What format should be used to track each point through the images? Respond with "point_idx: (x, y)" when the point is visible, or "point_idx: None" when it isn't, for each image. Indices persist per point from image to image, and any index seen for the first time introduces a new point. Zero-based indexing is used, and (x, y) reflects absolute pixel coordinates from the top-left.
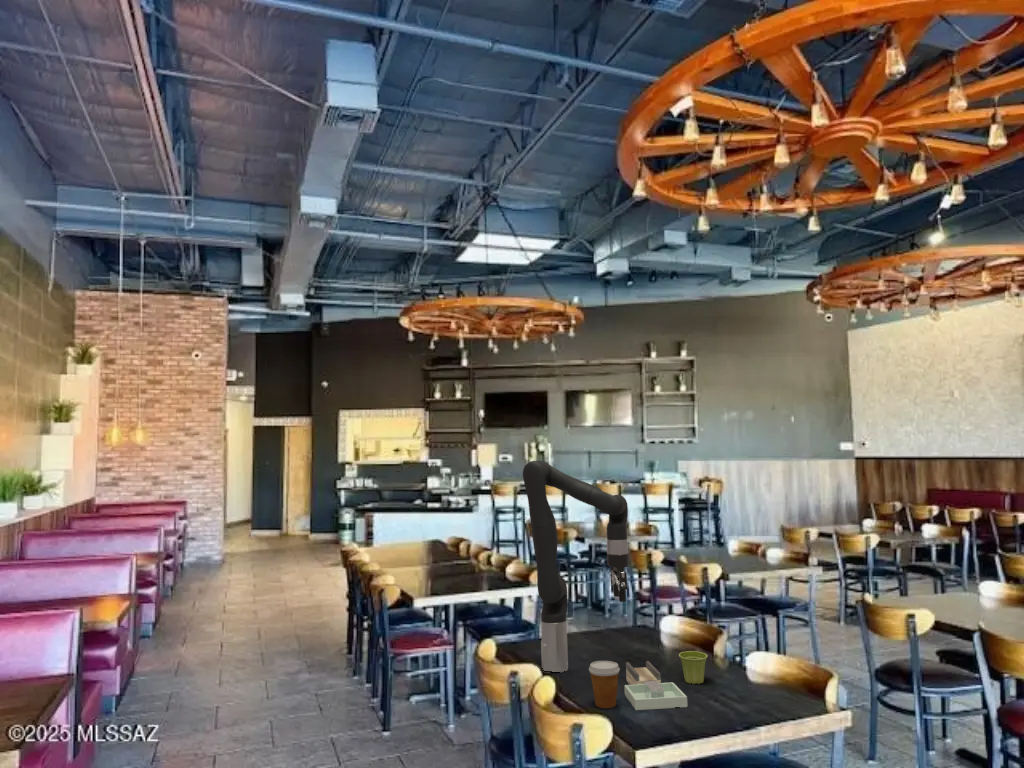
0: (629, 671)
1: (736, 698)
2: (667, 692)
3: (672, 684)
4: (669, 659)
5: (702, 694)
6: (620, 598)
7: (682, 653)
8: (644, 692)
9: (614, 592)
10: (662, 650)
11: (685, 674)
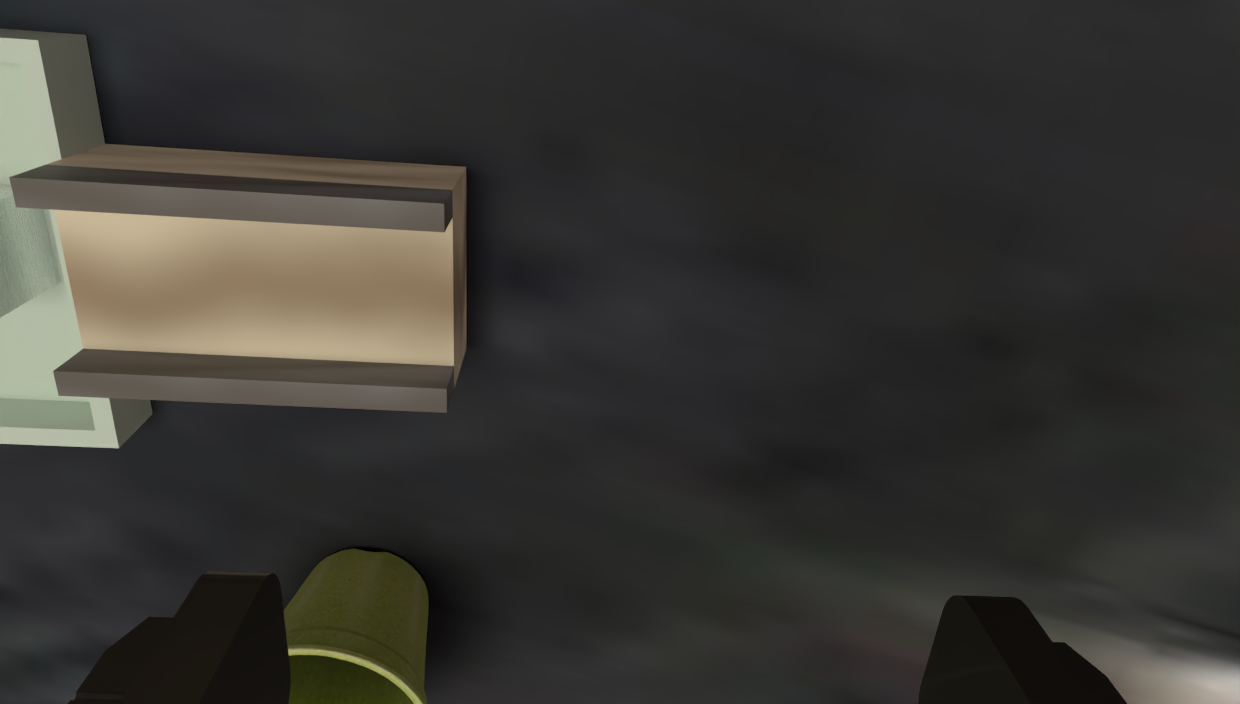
0: (308, 183)
1: (22, 693)
2: None
3: (67, 429)
4: (877, 601)
5: (98, 558)
6: (170, 654)
7: (403, 687)
8: (9, 189)
9: (1010, 694)
10: (1094, 621)
11: (328, 578)
